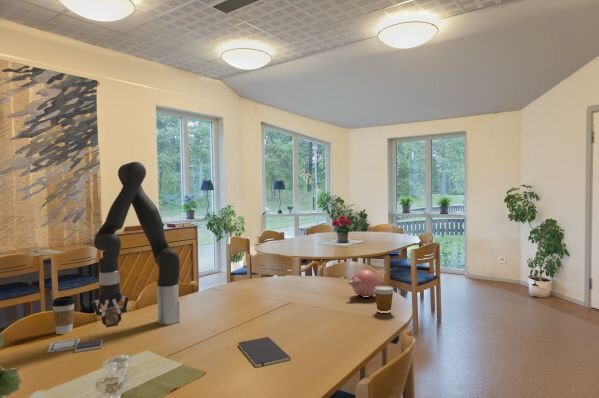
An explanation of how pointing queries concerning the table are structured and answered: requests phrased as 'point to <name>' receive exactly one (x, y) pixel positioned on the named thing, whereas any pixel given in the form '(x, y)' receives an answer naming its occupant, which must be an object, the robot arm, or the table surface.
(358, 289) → the pink rounded piece
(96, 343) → the inkpad
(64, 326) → the coffee cup
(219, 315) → the table surface
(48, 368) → the table surface
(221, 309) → the table surface
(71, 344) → the card
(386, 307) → the disposable coffee cup
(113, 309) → the stamp
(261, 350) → the notebook
